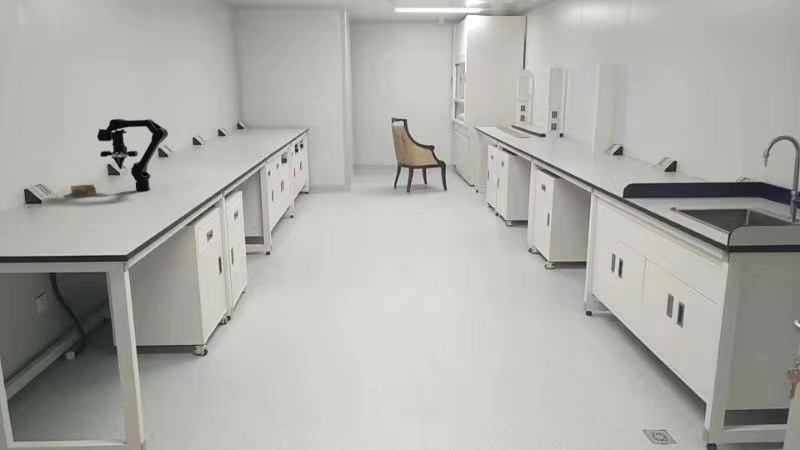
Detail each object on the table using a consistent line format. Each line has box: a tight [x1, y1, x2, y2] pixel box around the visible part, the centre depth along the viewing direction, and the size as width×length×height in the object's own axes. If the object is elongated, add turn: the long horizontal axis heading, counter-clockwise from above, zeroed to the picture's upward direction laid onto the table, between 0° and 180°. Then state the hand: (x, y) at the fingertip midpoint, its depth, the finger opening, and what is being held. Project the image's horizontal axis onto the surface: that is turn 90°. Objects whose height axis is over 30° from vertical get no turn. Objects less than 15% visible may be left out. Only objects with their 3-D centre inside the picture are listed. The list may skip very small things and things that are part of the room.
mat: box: [69, 192, 96, 198], centre depth 339 cm, size 11×14×1 cm
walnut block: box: [70, 184, 97, 197], centre depth 339 cm, size 4×12×11 cm
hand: (120, 168), depth 354 cm, fingers closed
